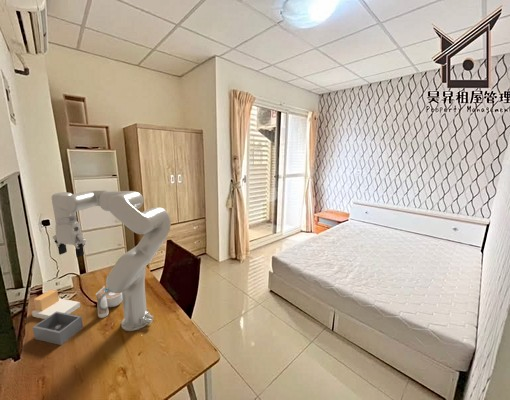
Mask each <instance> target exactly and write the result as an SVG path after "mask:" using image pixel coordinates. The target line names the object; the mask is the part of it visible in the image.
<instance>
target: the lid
mask: <svg viewBox="0 0 510 400" xmlns="http://www.w3.org/2000/svg"><path fill="white" fill-rule="evenodd" d="M33 302H34V307H35V310H32V311H31V316H32V317H34V318H38V319H42V320H44V319H46V318H47V317H49V316H50V315H52V314H53V313H55V312H56V311H57V312H62V313H67V314H72V313H73V312H75V311H76V310H77V309H79V308H80V307H81V302H80V301H76V300H75V301H74V300H71V299H64V298H60V297H59V293H58V290H55V289H50V290H48V291H46V292H44V293H42V294H40V295H38V296H37V297H35V298H33Z"/></svg>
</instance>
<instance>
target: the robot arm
mask: <svg viewBox="0 0 510 400" xmlns="http://www.w3.org/2000/svg"><path fill="white" fill-rule="evenodd" d="M51 201H52V202H51V204H52V209H53V214H54V215H53V216H54V221H55V227H54V228H55V229H54V230H55V235H53V236H52V239H53V241H54V243H55V244H56V247H57V248H58V249H57V250H58V255H63V254H65V253H67V251H68V250H67V245H71V246H73V247H74V248H75V256H76V258H79V257H81V256H83V255H85V254H84V251H85V250H84V247H85V245H86V241H87V239H86V238H84V236H83V233H82V229H81V226H80V222H79V221H78V219H77V218H78V217H77V212H79V211H83V210H87V209H90V208H93V207H100V208H101V209H102V210H104V211H106V212H110V214H112V216H113V217H114V218H115V219H117V220H118V221H119V222H120V223H121V224H123V225H124V226H125V227H127V228H128V229H129V230H130V231H131V232H133V233H135V234H137V235H143V236H142V237H141V239H140V240H139V242H138V244H137V245H136V246H134V247H132V248H131V249H130V250H128V251H127V252H125V253H124V254H121V256H120V257H119V258H118V259H117V261H116V262H115V264H114V265H113V267H112V269H111V270H110V271H109V273H108V274H107V276H106V280H105V285H106V289H108V290H109V291H110V292H112V293H121V292H122V299H123V300H122V307H123V314H124V315H123V316H124V318H123V319H122V320H121V329H122V330H124V331H127V332H134V331H138V330H141V329H143V328H144V327H146V326H147V325H148V324H150V325H151V324H152V323H153V321H154V315H151V313H150V312H149V310H147V300H146V297H147V296H146V289H145V288H146V286H145V283H146V282H145V279H146V266H147V265H149V264H150V263H151V262H152V260H153V258H154V257H155V255H156V254H157V252H158V251H159V249H160V248H161V246H162V245H163V243H164V242H165V241H166V239H167V238H168V235H169V234H170V230H171V226H172V222H171V217H170V215H169V213H168V211H167V210H166V209H165V208H164V207H159V206H156V207H152V208H148V209H145V210H143V211H142V212H141V211H140V210H138V209H140V208H141V207H143V205H144V201H145V200H144V197H143V194H141V193H140V192H138V191H134V190H118V191H117V190H115V191H111V190H110V191H109V190H108V191H107V190H88V191H81V192H77V193H72V192H66V191H65V192H57V193H56V192H55V193H54V194H52V195H51Z"/></svg>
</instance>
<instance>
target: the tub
mask: <svg viewBox="0 0 510 400" xmlns="http://www.w3.org/2000/svg"><path fill="white" fill-rule="evenodd" d="M83 328H84V325H83V317H82V316H81V315H76V314H72V313H70V314H67V313H62V312H57V311H56V312H55V313H53V314H52V315H50V316H49V317H47V318H46V319H42V320H41V321H40V322H38V323H37V324H35V325H33V326H32V331H33V336H34V339H35V340H37V341H42V342H46V343H51V344H55V345H59V346H63V344H65V343H66V342H67V341H68V340H70V339H71V338H72V337H74V335H76V334H77V333H78V332H80V331H81V330H82V329H83Z"/></svg>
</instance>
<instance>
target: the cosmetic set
mask: <svg viewBox="0 0 510 400" xmlns="http://www.w3.org/2000/svg"><path fill="white" fill-rule="evenodd" d="M105 289H106V287H105V285H103V287H102V288H100V289H99V290H98V291H97V292H96V293H95V297H96V302H97V303H96V304H97V306H96V307H97V317H98V318H100V319H103V318H106V317H107V316H108V315H109V313H110V312H109V308H114V307H117V306H119V305H120V304H121V303H123V299H122V292H121V293H112V292H110V291H109V290H108V291H106V292H105Z"/></svg>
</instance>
